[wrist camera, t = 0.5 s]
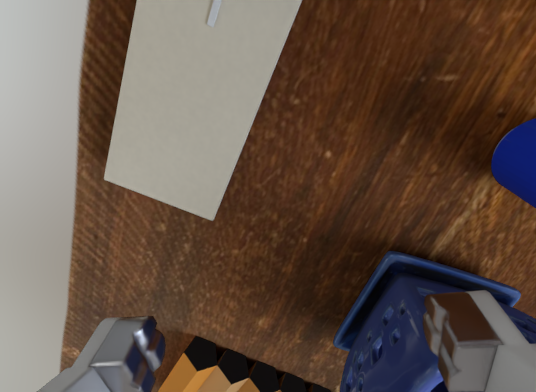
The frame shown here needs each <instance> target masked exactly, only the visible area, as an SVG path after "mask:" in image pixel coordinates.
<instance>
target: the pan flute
mask: <svg viewBox="0 0 536 392" xmlns="http://www.w3.org/2000/svg"><path fill="white" fill-rule="evenodd" d="M158 392H331V391H330V390H328V389H326V388H323V387H321V386H318V385H316V384H312V385H311V386H310V387H309V388H308V389H307V390H306V388H305V384H304V381H303V379H301V378H299V377H296V376H294V375H291V374H289V373H285V374H284V375H283V376H282V377H281V378H280V379H279V380H278V379H277V375H276V370H275V368H274V367H271V366H269V365H266V364H264V363H261V362H259V361H256V363H255V364H254V365H253V366H252V367H251V368H250V369H249V371H248V367H247V361H246V356H244V355H242V354H239V353H237V352H234V351H232V350H229V349H227V350H226V351H225V352H224V353H223V355H222V356H221V357H220V359H219V360H218V361H217V356H216V345H215V344H214V343H212V342H209V341H207V340H204V339H202V338H199V337H197V336H196V337H195V338H194V340H193V341H192V342H191V344H190V345H189V346H188V348H187V349H186V350H185V352H184V353H183V354H182V356H181V357H180V359H179V360H178V362H177V363H176V365H175V366H174V368H173V370H172V371H171V373H170V374H169V376H168V377H167V379H166V380H165V382H164V383H163V385H162V386H161V388H160V389H159V391H158Z"/></svg>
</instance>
